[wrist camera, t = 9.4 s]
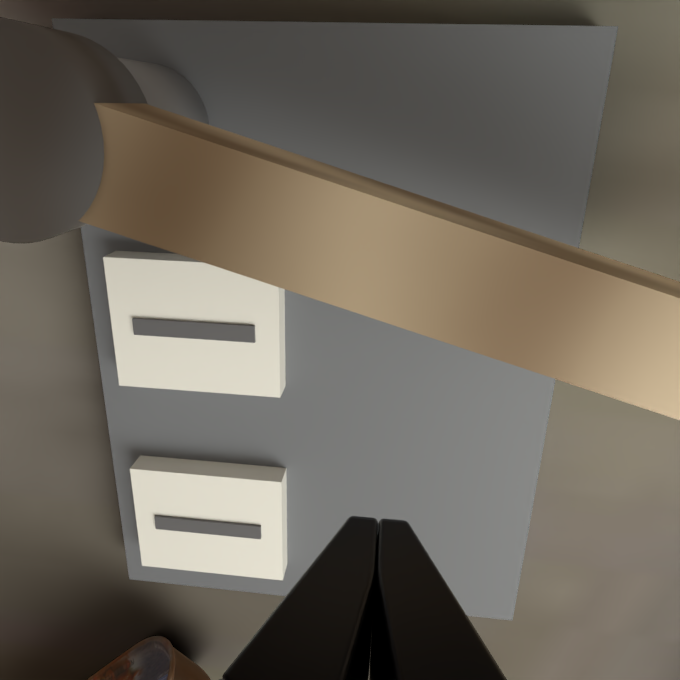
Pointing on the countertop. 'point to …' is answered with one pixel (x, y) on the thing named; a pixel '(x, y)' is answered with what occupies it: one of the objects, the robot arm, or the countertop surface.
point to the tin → (151, 663)
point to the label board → (331, 321)
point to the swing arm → (317, 227)
